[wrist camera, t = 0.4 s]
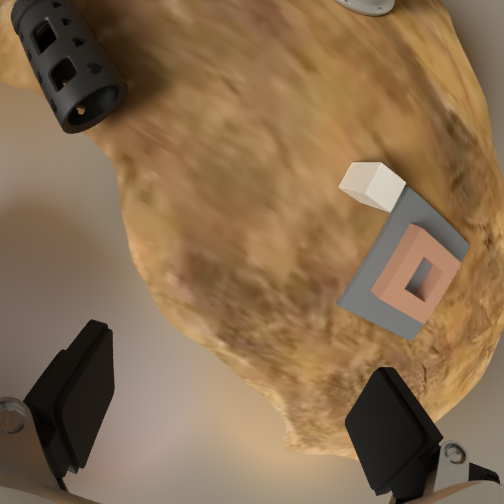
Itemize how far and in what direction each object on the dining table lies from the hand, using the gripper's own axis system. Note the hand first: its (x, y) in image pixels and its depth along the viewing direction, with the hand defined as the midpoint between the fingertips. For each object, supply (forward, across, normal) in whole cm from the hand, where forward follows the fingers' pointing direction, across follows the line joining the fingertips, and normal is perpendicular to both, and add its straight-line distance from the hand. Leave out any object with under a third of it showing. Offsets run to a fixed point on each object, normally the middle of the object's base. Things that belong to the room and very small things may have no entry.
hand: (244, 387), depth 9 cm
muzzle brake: (+29, +29, -20) cm, 46 cm away
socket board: (+29, -28, +1) cm, 40 cm away
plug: (+29, -14, -9) cm, 33 cm away
